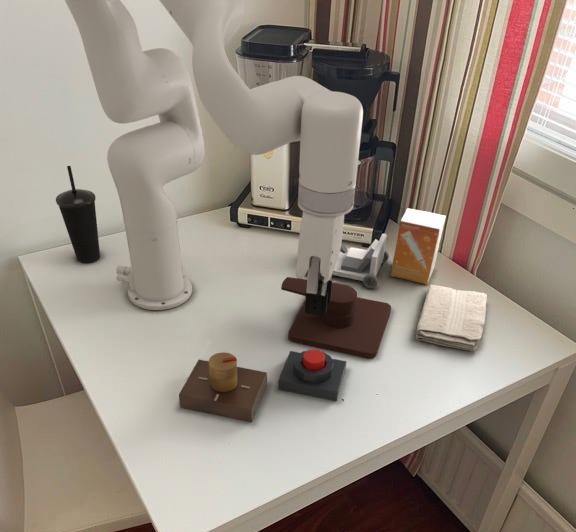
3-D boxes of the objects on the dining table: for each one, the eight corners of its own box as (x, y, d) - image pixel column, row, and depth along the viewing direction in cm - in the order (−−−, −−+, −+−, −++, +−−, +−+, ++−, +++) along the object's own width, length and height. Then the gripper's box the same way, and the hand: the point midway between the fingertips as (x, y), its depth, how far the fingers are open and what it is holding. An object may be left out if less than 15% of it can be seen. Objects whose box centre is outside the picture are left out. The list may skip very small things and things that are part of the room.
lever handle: (295, 258, 119) (397, 277, 115) (294, 290, 124) (391, 309, 120) (268, 304, 108) (380, 327, 103) (268, 337, 112) (374, 360, 108)
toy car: (294, 230, 122) (311, 206, 131) (292, 272, 129) (309, 246, 137) (382, 247, 118) (394, 221, 127) (376, 290, 125) (387, 262, 133)
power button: (300, 368, 101) (301, 360, 99) (305, 355, 103) (306, 347, 102) (321, 372, 100) (322, 364, 99) (326, 359, 103) (327, 351, 101)
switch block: (278, 389, 102) (278, 371, 99) (289, 360, 108) (290, 342, 105) (336, 401, 100) (338, 383, 98) (345, 370, 106) (347, 352, 103)
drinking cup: (78, 246, 134) (58, 157, 121) (111, 250, 134) (95, 160, 120) (64, 265, 129) (41, 172, 115) (99, 268, 128) (80, 176, 115)
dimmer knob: (212, 394, 96) (210, 370, 93) (208, 376, 99) (206, 352, 96) (240, 389, 97) (239, 366, 94) (234, 372, 100) (233, 348, 97)
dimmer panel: (180, 408, 98) (178, 393, 96) (199, 372, 105) (198, 358, 103) (251, 422, 96) (251, 408, 94) (267, 385, 103) (267, 371, 101)
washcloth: (413, 342, 112) (416, 329, 110) (425, 291, 125) (428, 278, 123) (479, 355, 110) (483, 342, 108) (484, 301, 123) (488, 289, 121)
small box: (390, 277, 129) (399, 220, 120) (397, 262, 133) (406, 206, 124) (427, 285, 127) (440, 228, 118) (434, 270, 131) (446, 214, 122)
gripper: (312, 167, 88) (306, 276, 100) (283, 217, 76) (280, 334, 89) (363, 174, 87) (350, 283, 99) (342, 226, 75) (331, 343, 88)
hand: (317, 306), depth 94 cm, fingers closed
